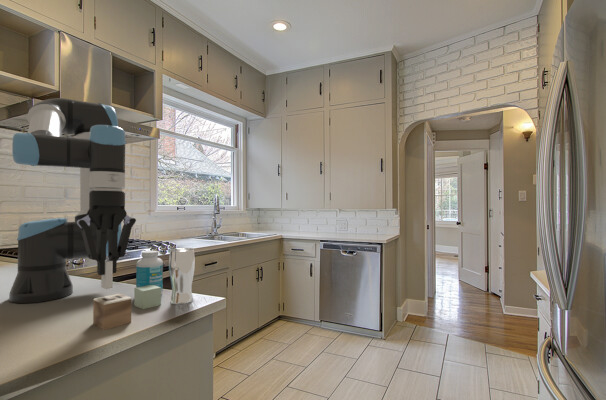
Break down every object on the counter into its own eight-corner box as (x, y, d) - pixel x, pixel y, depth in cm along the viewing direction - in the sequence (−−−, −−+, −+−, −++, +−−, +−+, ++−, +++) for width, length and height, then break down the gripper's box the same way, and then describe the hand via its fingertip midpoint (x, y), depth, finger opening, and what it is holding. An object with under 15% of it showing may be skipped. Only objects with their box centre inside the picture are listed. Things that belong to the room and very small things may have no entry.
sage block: (134, 306, 93) (134, 288, 93) (151, 302, 97) (152, 284, 97) (142, 309, 90) (143, 291, 90) (160, 305, 94) (161, 287, 94)
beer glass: (183, 296, 102) (183, 247, 102) (199, 300, 98) (199, 248, 98) (163, 302, 96) (163, 250, 96) (180, 306, 92) (180, 251, 92)
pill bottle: (152, 300, 99) (152, 253, 99) (130, 298, 100) (130, 252, 100) (167, 293, 106) (168, 250, 106) (146, 291, 107) (147, 249, 108)
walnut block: (104, 303, 76) (103, 330, 76) (131, 297, 80) (131, 323, 80) (93, 298, 79) (93, 324, 79) (120, 293, 84) (119, 317, 84)
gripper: (82, 189, 74) (81, 296, 74) (141, 190, 85) (141, 285, 84) (71, 189, 79) (70, 290, 79) (128, 191, 89) (127, 280, 89)
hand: (106, 287), depth 82 cm, fingers closed
